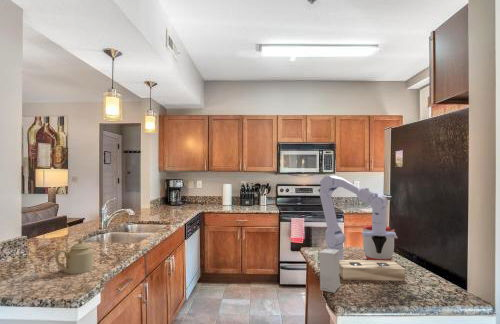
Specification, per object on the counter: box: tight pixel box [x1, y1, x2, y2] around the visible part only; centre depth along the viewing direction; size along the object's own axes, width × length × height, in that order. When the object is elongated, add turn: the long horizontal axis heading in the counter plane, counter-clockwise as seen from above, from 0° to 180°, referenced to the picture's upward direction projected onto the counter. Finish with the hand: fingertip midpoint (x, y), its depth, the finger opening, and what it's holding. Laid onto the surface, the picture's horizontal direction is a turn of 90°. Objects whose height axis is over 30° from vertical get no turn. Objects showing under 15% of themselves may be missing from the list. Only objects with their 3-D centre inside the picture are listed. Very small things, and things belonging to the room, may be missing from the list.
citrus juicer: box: [362, 224, 399, 261], centre depth 164 cm, size 16×17×20 cm
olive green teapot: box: [54, 237, 94, 275], centre depth 144 cm, size 15×11×15 cm
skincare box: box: [319, 248, 341, 294], centre depth 125 cm, size 8×6×15 cm
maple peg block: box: [339, 259, 406, 282], centre depth 140 cm, size 12×26×5 cm, turn 89°
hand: (378, 252), depth 142 cm, fingers closed
